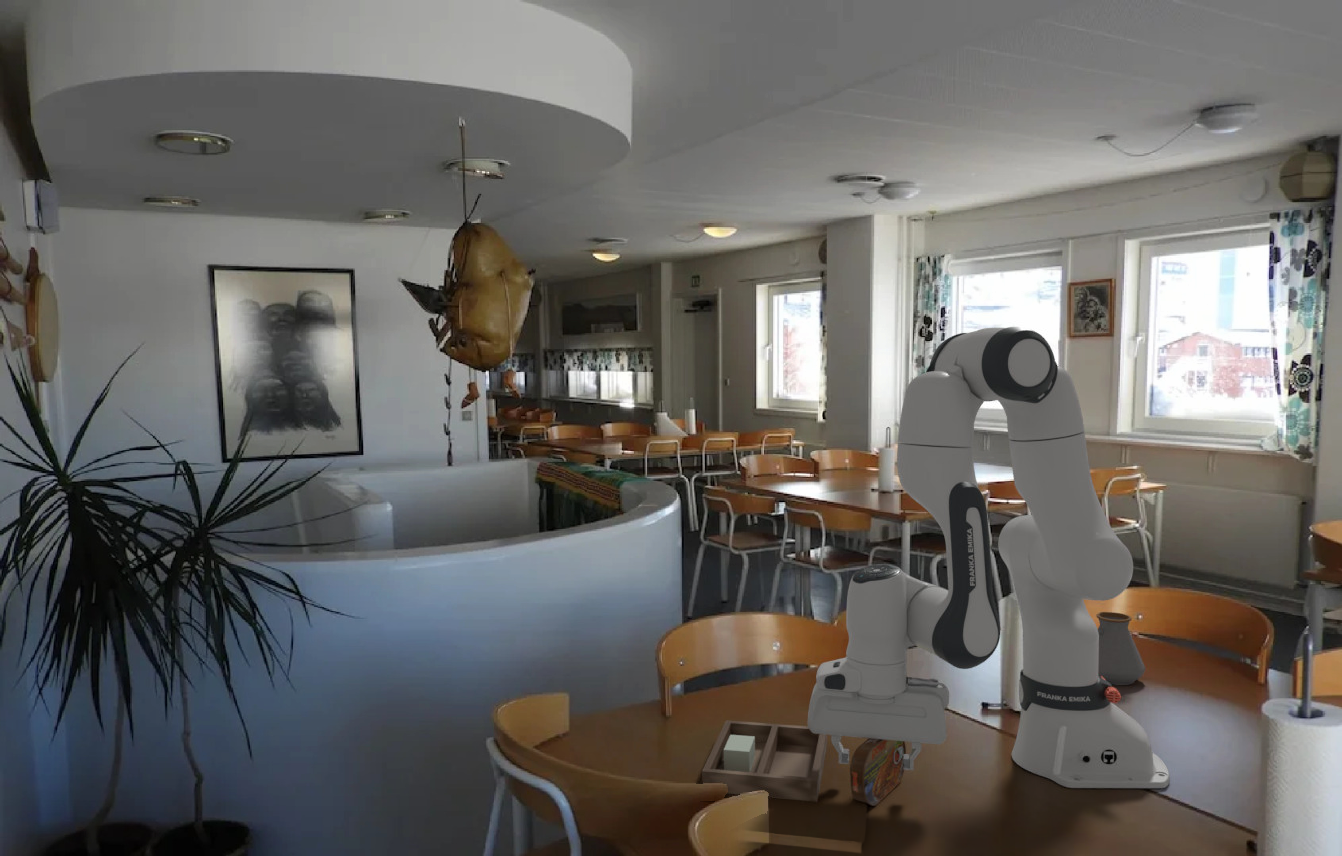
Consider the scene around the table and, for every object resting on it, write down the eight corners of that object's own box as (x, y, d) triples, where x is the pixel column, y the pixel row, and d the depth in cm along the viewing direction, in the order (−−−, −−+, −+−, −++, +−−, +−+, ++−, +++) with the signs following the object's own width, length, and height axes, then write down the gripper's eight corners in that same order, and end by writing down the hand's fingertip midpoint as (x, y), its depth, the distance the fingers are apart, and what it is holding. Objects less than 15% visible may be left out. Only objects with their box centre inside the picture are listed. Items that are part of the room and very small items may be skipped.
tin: (866, 815, 129) (865, 757, 129) (846, 809, 131) (845, 752, 131) (908, 776, 141) (908, 723, 141) (889, 771, 143) (888, 719, 142)
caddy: (827, 751, 151) (826, 727, 150) (817, 808, 131) (817, 781, 131) (726, 743, 155) (726, 720, 155) (702, 797, 135) (702, 771, 135)
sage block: (755, 757, 146) (754, 736, 146) (749, 773, 141) (749, 751, 140) (730, 755, 147) (730, 734, 147) (724, 771, 142) (723, 749, 141)
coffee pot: (1115, 667, 190) (1116, 596, 189) (1158, 685, 179) (1159, 610, 178) (1028, 677, 184) (1028, 605, 183) (1066, 697, 173) (1067, 620, 172)
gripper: (947, 673, 136) (947, 763, 136) (810, 663, 141) (810, 750, 141) (950, 687, 130) (949, 781, 130) (806, 676, 134) (806, 767, 135)
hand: (875, 765), depth 136 cm, fingers open, 8 cm apart
